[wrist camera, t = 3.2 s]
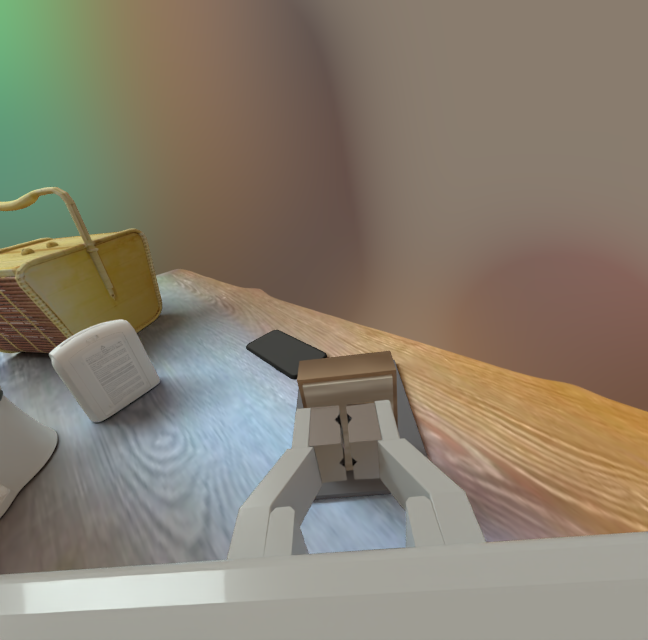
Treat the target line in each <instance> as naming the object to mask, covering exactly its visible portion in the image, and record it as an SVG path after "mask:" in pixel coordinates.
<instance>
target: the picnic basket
mask: <svg viewBox="0 0 648 640" xmlns="http://www.w3.org/2000/svg"><path fill="white" fill-rule="evenodd" d="M51 193H55V194H57V195H59V196H60V197H61V198H62V199H63V201H64V202H65V203H66V206H67V207H68V210H69V212H70V214H71V216H72V218H73V220H74V223H75V224H76V227H77V229H78V231H79V233H80V235H81V236H75V237H65V238H56V239H52V238H41V239H37V240H33V241H29V242H26V243H22V244H18V245H14V246H10V247H6V248H3V249H0V352H4V353H16V352H37V353H50V352H51V351H52V350H53V349H54V348H56V347H57V346H58V345H59V344H61V343H62V342H63V341H65V340H66V339H68V338H69V337H71V336H73V335H75V334H76V333H78V332H80V331H82V330H84V329H87V328H89V327H91V326H94V325H97V324H100V323H104V322H108V321H113V320H120V319H123V320H126V321H128V322H129V323H130V324H131V326H132V327H133V328H134V330H135V331H136V333H138V332H139V331H141V330H142V329H144V328H145V327H146V326H148V325H149V324H151V323H152V322H154V321H155V320H156V319H157V318H158V316H159V315H160V313H161V310H162V300H161V296H160V291H159V287H158V283H157V279H156V275H155V271H154V266H153V262H152V258H151V254H150V250H149V245H148V242H147V238H146V236H145V234H144V233H143V232H141V231H140V230H137V229H127V230H124V231H121V232H113V233H104V234H94V235H89V233H88V231H87V229H86V227H85V224H84V222H83V220H82V218H81V216H80V213H79V211H78V209H77V207H76V205H75V203H74V201H73V200H72V198H71V197H70V196H69V194H68V193H67V192H65V191H63V190H61V189H59V188H58V187H48V188H47V187H46V188H42V189H38V190H33V191H31V192H29V193H28V194H25V195H24V196H22V197H20V198H19V199H17V200H14V201H10V202H0V211H13V210H18V209H23V208H26V207H28V206H30V205H31V204H33V203H35V202H36V200H37V199H38V197H39V196H41V195H46V194H51Z"/></svg>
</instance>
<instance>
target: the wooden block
mask: <svg viewBox="0 0 648 640" xmlns="http://www.w3.org/2000/svg"><path fill="white" fill-rule="evenodd" d="M297 382H298V386H299V391H300V395H301V399H302V403H303V408H311V407H325V406H338V405H339V406H340V412H341V422H342V425H343V432H344V442H345V451H344V452H345V459H346V471H349V470H353V465H352V457H351V451H350V444H349V433H348V419H347V411H346V404H355V403H364V402H373V401H374V402H375V401H381V400H389V401H390V403H391V407H392V410H393V414H394V418H395V421H396V425H397V429H398V413H397V373H396V367H395V364H394V361H393V358H392V355H391V352H390V351H384V352H375V353H366V354H357V355H348V356H339V357H331V358H322V359H313V360H304V361H299V369H298V377H297Z"/></svg>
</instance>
